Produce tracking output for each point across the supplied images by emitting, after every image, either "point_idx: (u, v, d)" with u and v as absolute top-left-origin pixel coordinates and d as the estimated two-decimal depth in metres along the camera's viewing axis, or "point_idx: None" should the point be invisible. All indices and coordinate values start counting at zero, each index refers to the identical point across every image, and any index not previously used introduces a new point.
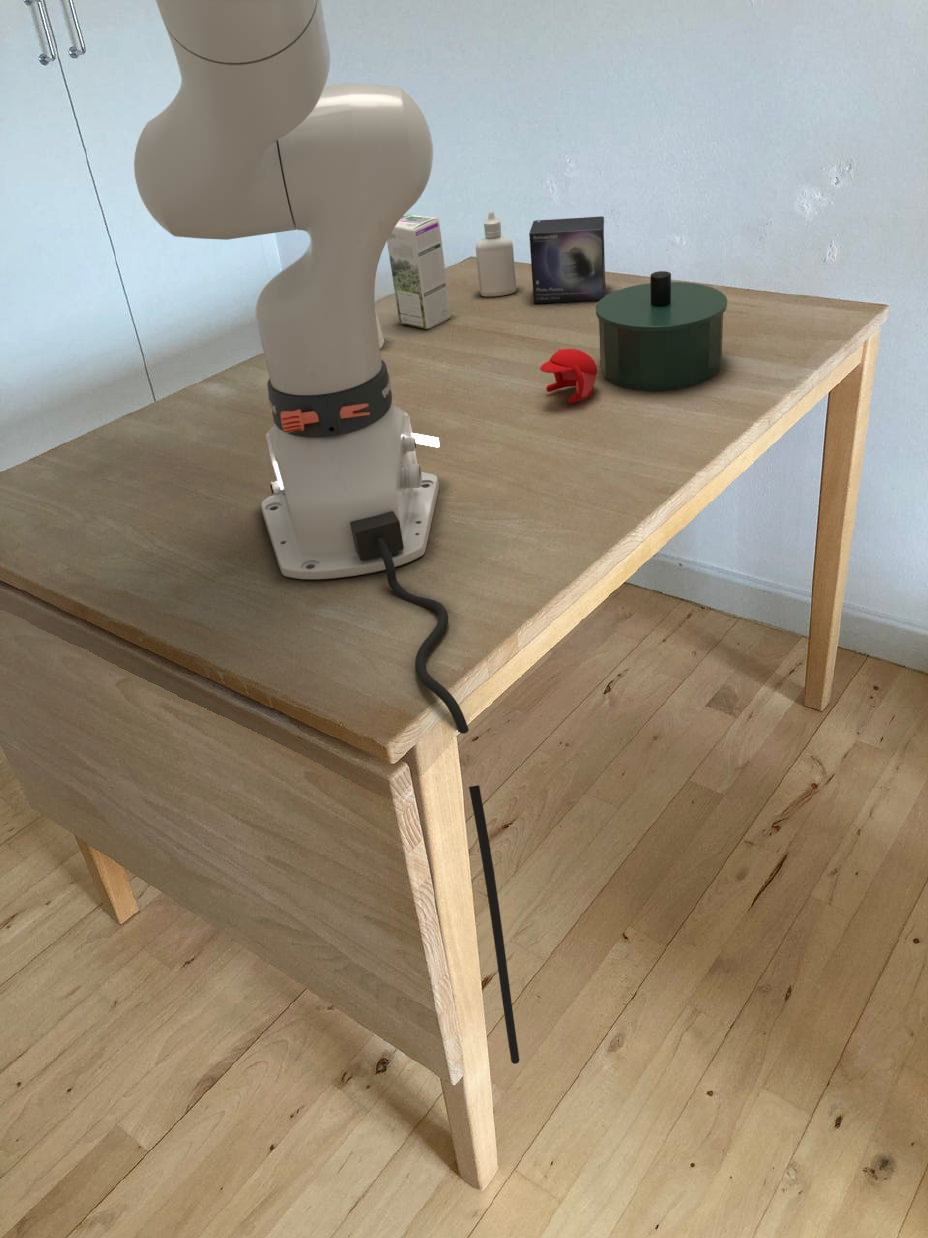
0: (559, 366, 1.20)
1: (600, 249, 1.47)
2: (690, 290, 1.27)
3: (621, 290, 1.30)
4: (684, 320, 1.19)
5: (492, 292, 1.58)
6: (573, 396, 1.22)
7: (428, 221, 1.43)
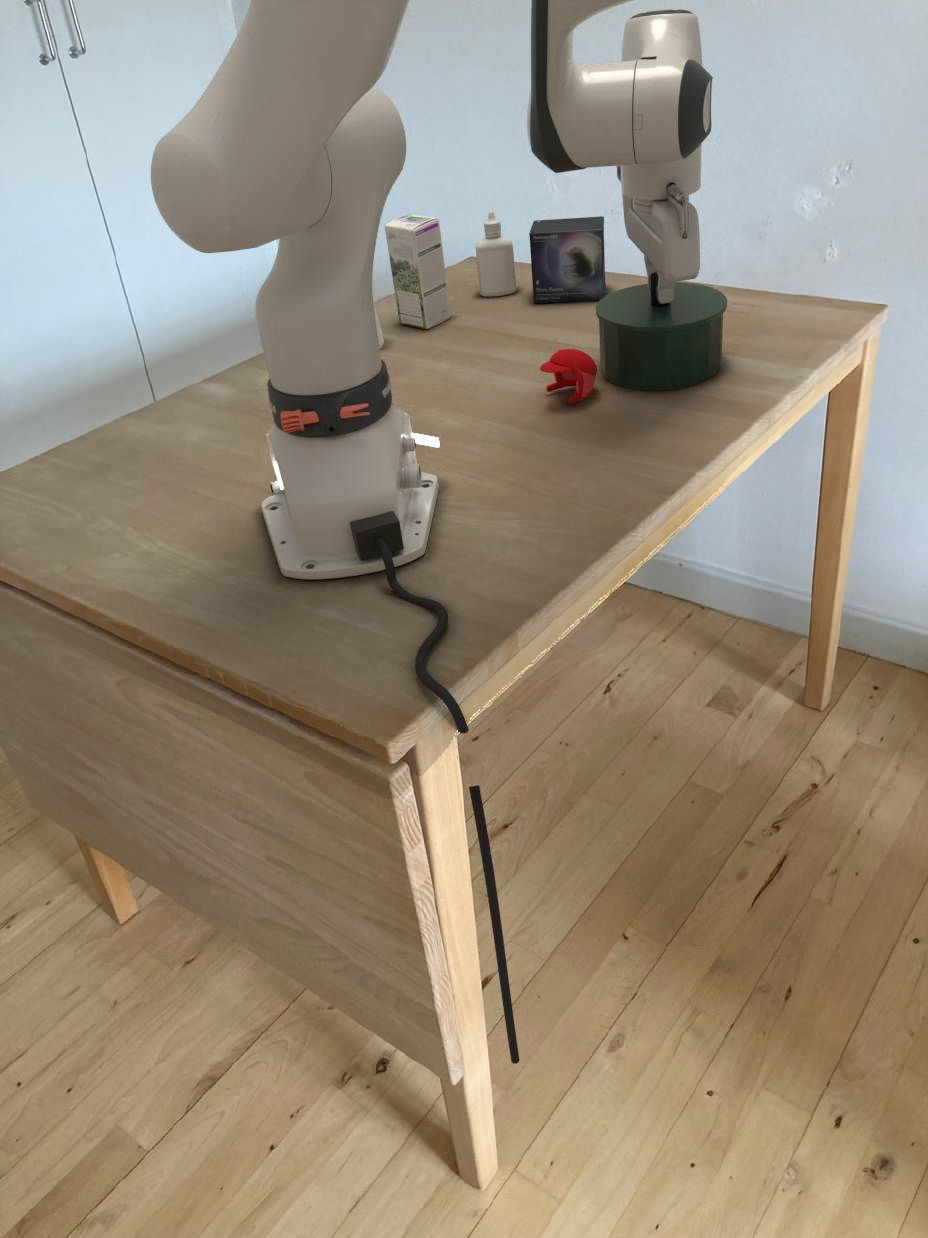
0: (559, 366, 1.20)
1: (600, 249, 1.47)
2: (690, 290, 1.27)
3: (621, 290, 1.30)
4: (684, 320, 1.19)
5: (492, 292, 1.58)
6: (573, 396, 1.22)
7: (428, 221, 1.43)
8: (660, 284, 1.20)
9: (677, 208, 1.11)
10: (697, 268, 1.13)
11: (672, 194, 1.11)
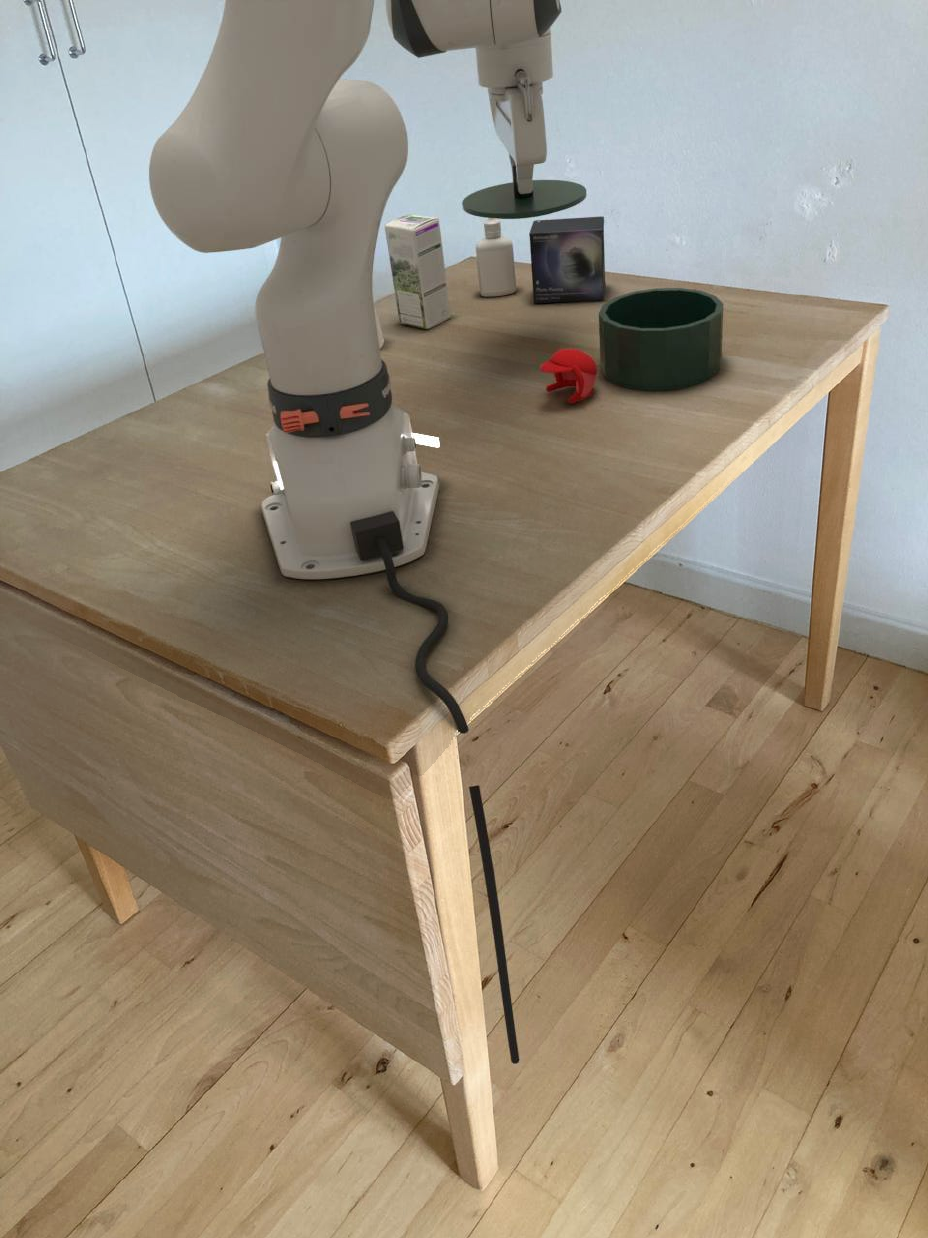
0: (559, 366, 1.20)
1: (600, 249, 1.47)
2: (555, 185, 1.32)
3: (491, 187, 1.35)
4: (540, 207, 1.24)
5: (492, 292, 1.58)
6: (573, 396, 1.22)
7: (428, 221, 1.43)
8: (518, 173, 1.25)
9: (522, 92, 1.15)
10: (544, 151, 1.18)
11: (518, 79, 1.16)
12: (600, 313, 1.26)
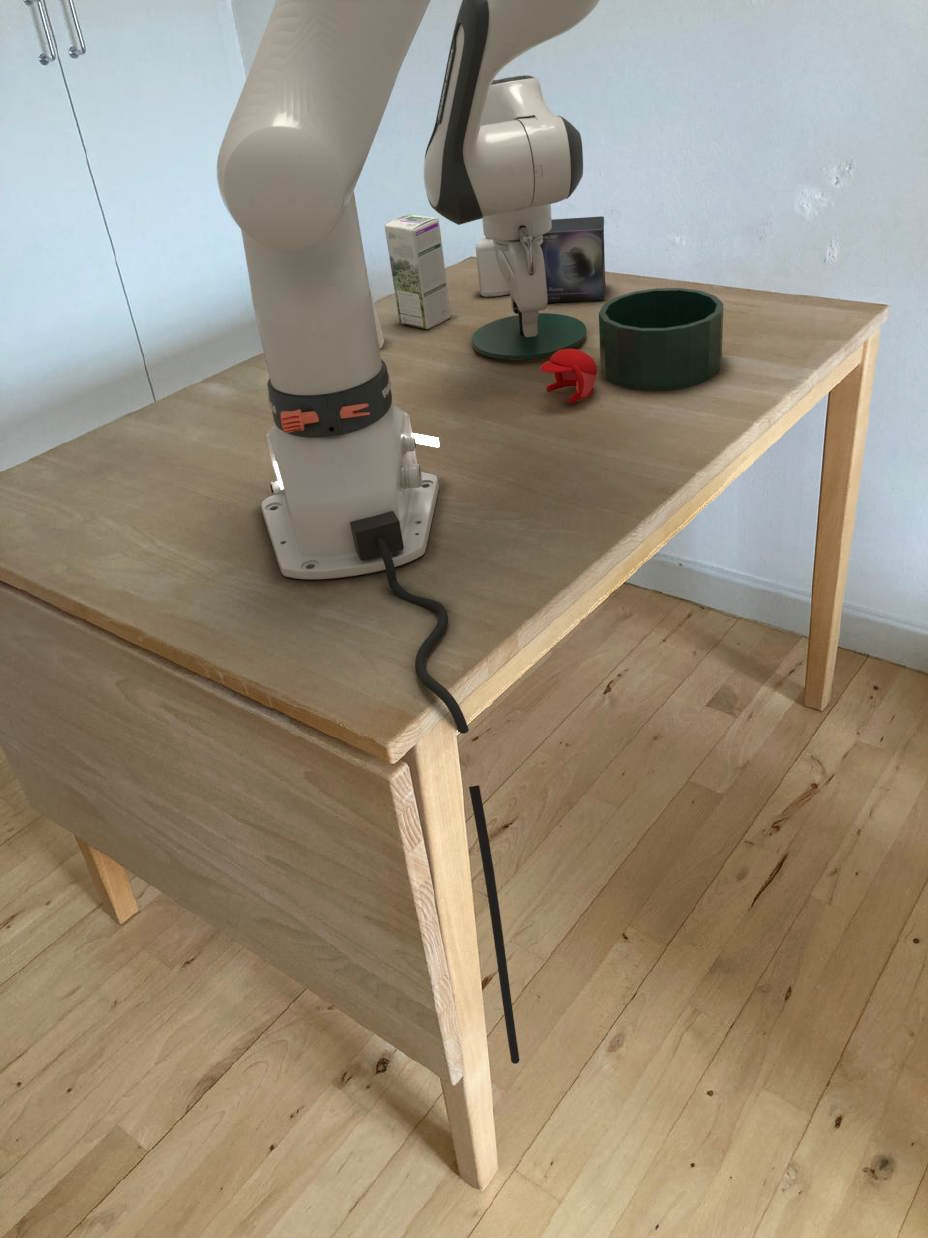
0: (559, 366, 1.20)
1: (600, 249, 1.47)
2: (558, 321, 1.43)
3: (498, 320, 1.46)
4: (544, 349, 1.35)
5: (492, 292, 1.58)
6: (573, 396, 1.22)
7: (428, 221, 1.43)
8: (523, 320, 1.34)
9: (524, 249, 1.26)
10: (545, 301, 1.28)
11: (521, 236, 1.27)
12: (600, 313, 1.26)
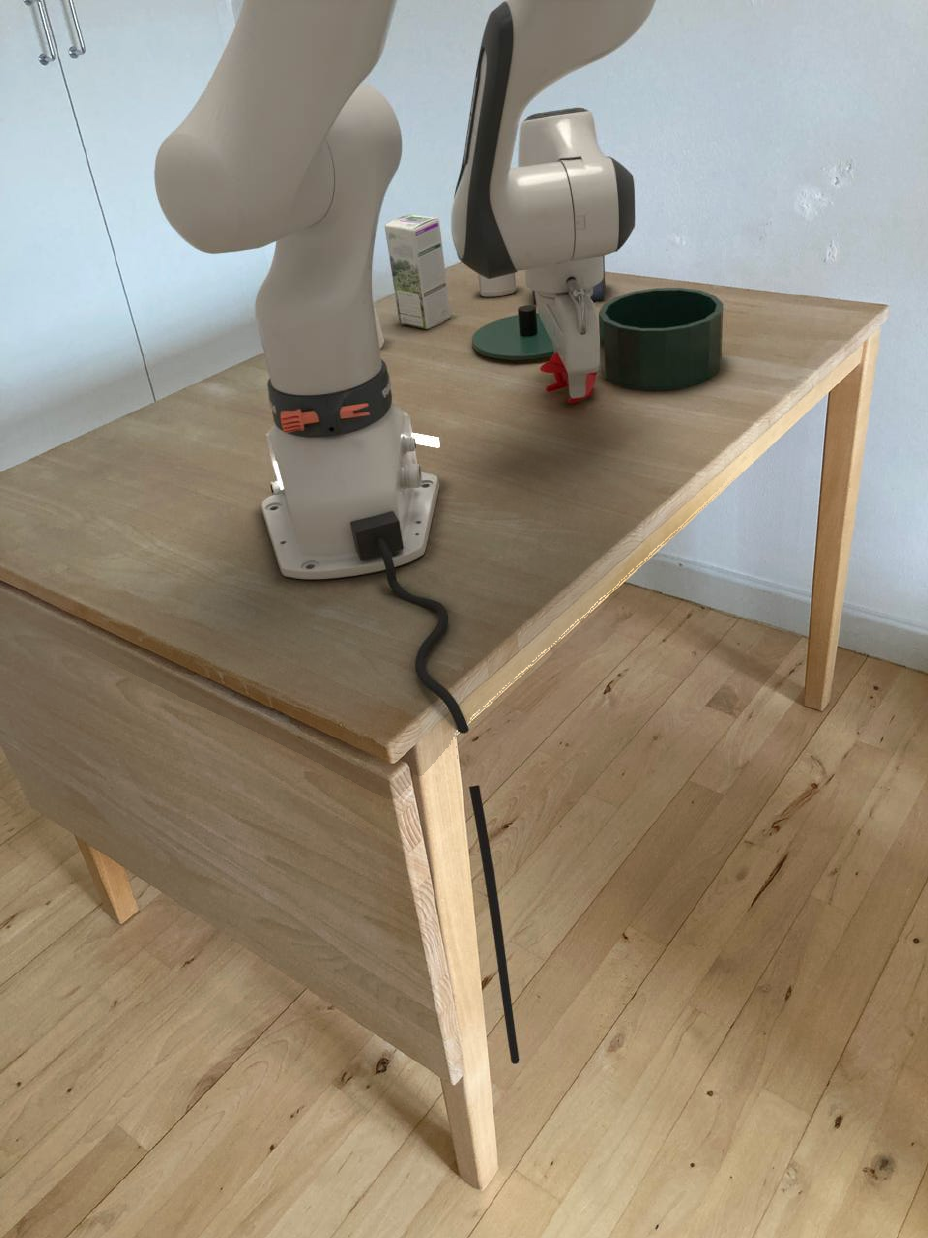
0: (559, 366, 1.20)
1: None
2: None
3: (498, 320, 1.46)
4: (544, 349, 1.35)
5: (492, 292, 1.58)
6: None
7: (428, 221, 1.43)
8: (570, 380, 1.18)
9: (575, 304, 1.10)
10: (597, 363, 1.12)
11: (571, 290, 1.11)
12: (600, 313, 1.26)
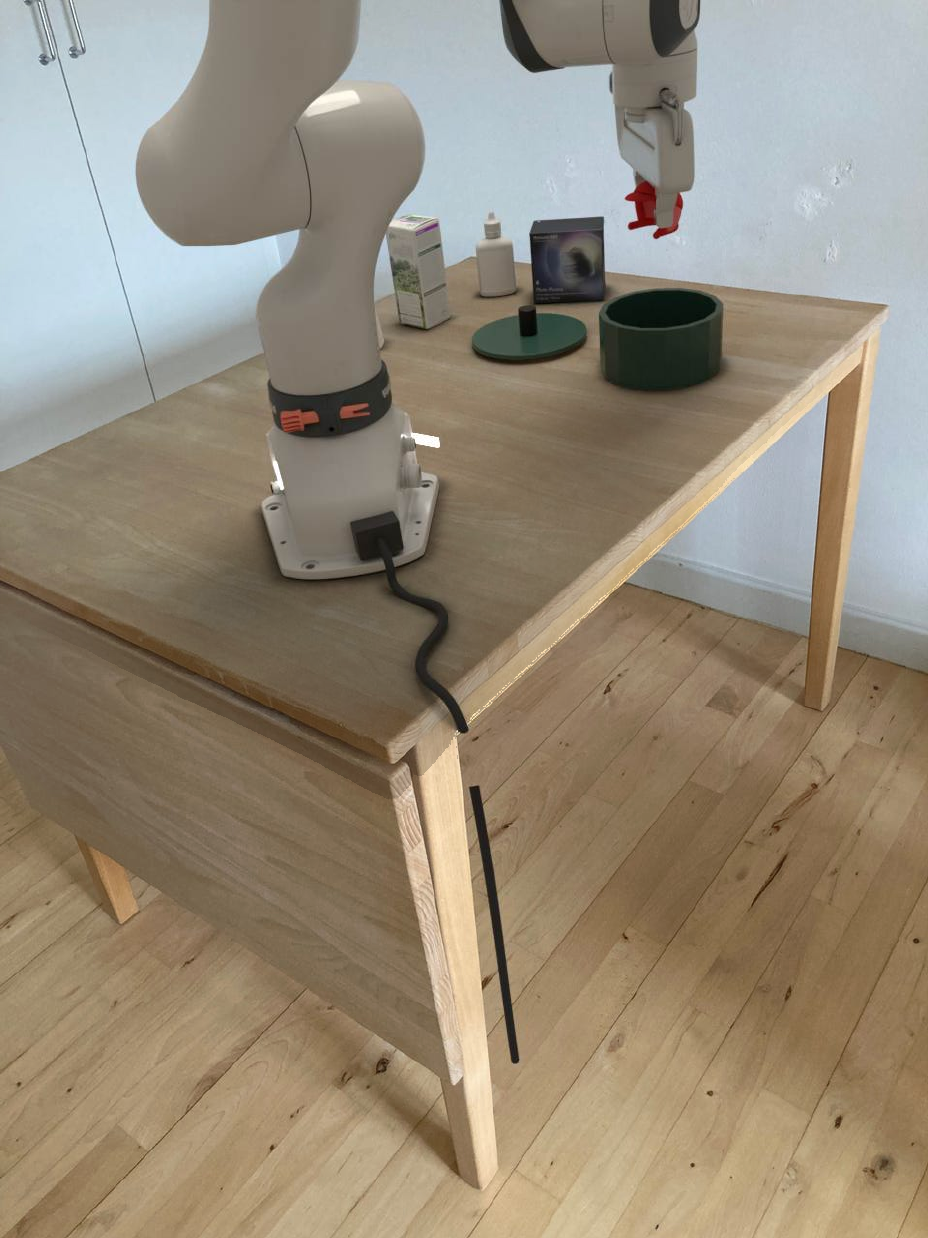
0: (645, 195, 1.14)
1: (600, 249, 1.47)
2: (558, 321, 1.43)
3: (498, 320, 1.46)
4: (544, 349, 1.35)
5: (492, 292, 1.58)
6: (658, 229, 1.16)
7: (428, 221, 1.43)
8: (658, 206, 1.12)
9: (670, 113, 1.04)
10: (691, 179, 1.06)
11: (665, 99, 1.05)
12: (600, 313, 1.26)
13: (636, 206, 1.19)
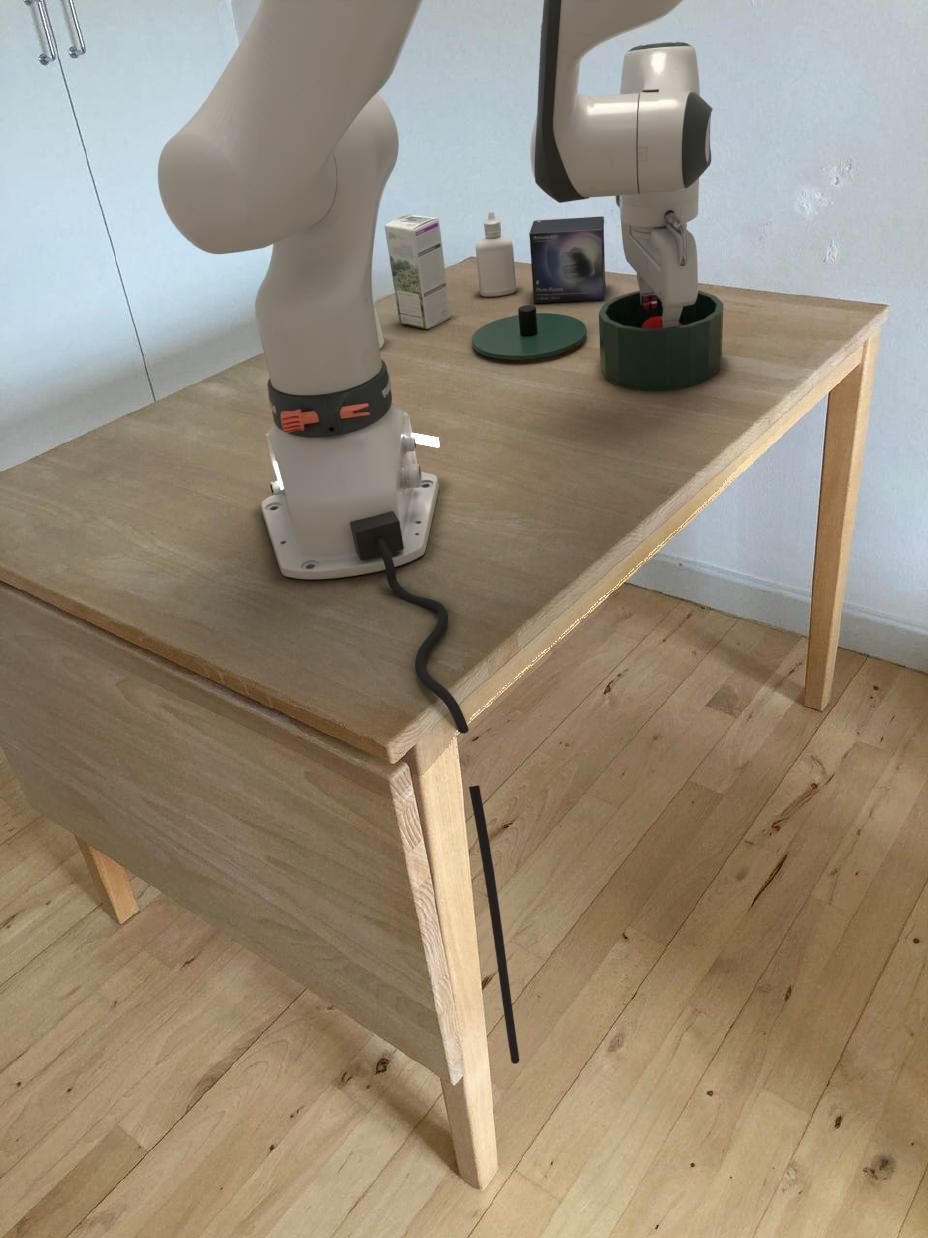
0: None
1: (600, 249, 1.47)
2: (558, 321, 1.43)
3: (498, 320, 1.46)
4: (544, 349, 1.35)
5: (492, 292, 1.58)
6: None
7: (428, 221, 1.43)
8: (665, 316, 1.20)
9: (675, 236, 1.12)
10: (695, 295, 1.15)
11: (670, 222, 1.13)
12: (600, 313, 1.26)
13: None
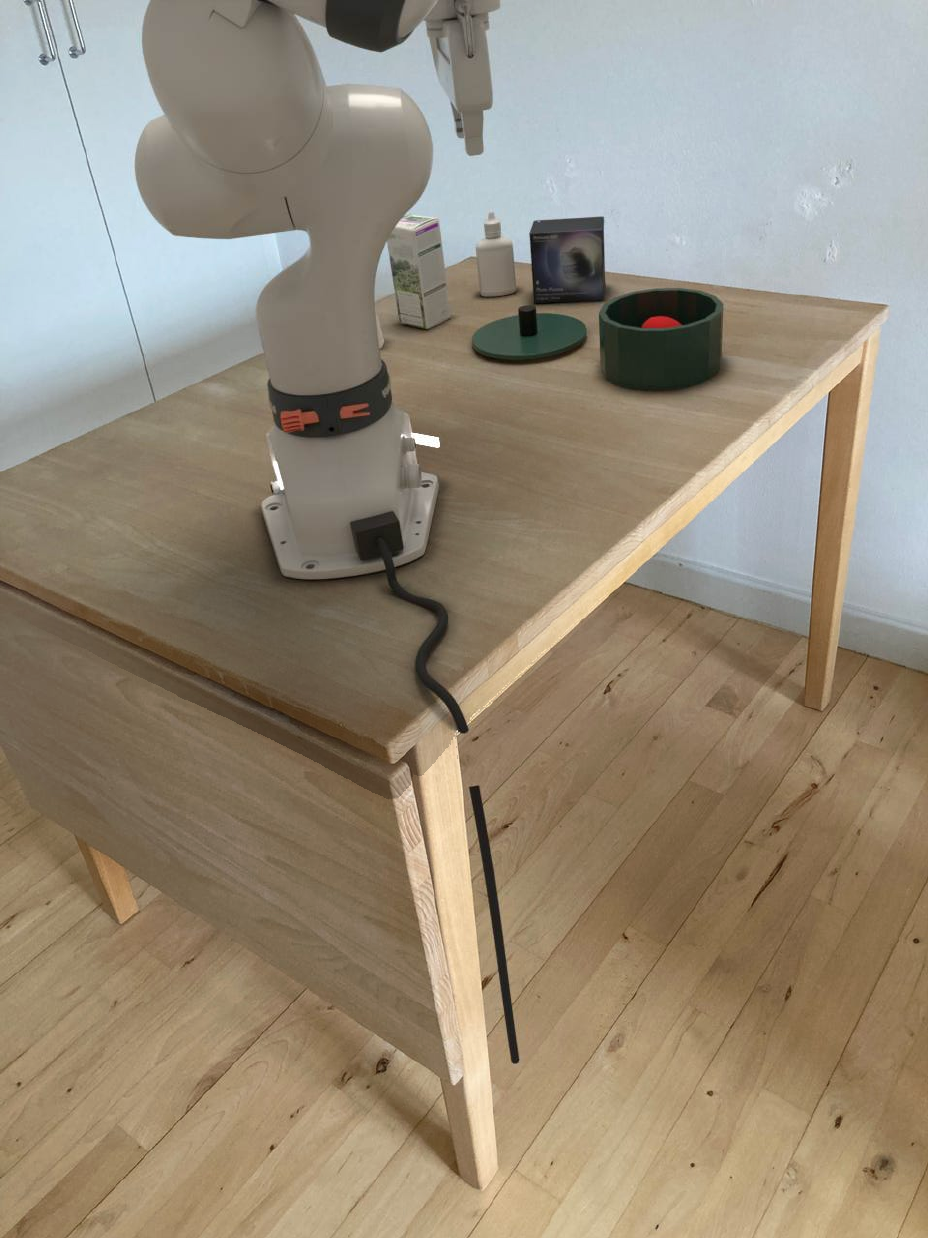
0: None
1: (600, 249, 1.47)
2: (558, 321, 1.43)
3: (498, 320, 1.46)
4: (544, 349, 1.35)
5: (492, 292, 1.58)
6: None
7: (428, 221, 1.43)
8: (465, 130, 1.03)
9: (461, 22, 0.96)
10: (489, 95, 0.98)
11: (457, 7, 0.97)
12: (600, 313, 1.26)
13: None
